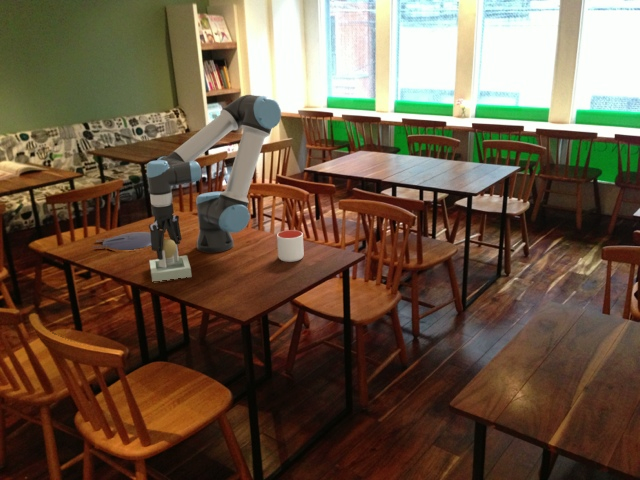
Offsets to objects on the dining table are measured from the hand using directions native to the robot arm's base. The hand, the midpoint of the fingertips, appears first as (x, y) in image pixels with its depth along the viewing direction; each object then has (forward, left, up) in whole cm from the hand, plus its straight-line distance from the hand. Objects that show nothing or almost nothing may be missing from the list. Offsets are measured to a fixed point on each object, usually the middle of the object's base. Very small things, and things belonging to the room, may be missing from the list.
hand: (169, 263), depth 218 cm
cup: (-46, +3, -4) cm, 46 cm away
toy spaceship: (+15, -42, -5) cm, 45 cm away
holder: (0, 0, -4) cm, 4 cm away
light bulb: (0, 0, -1) cm, 1 cm away
